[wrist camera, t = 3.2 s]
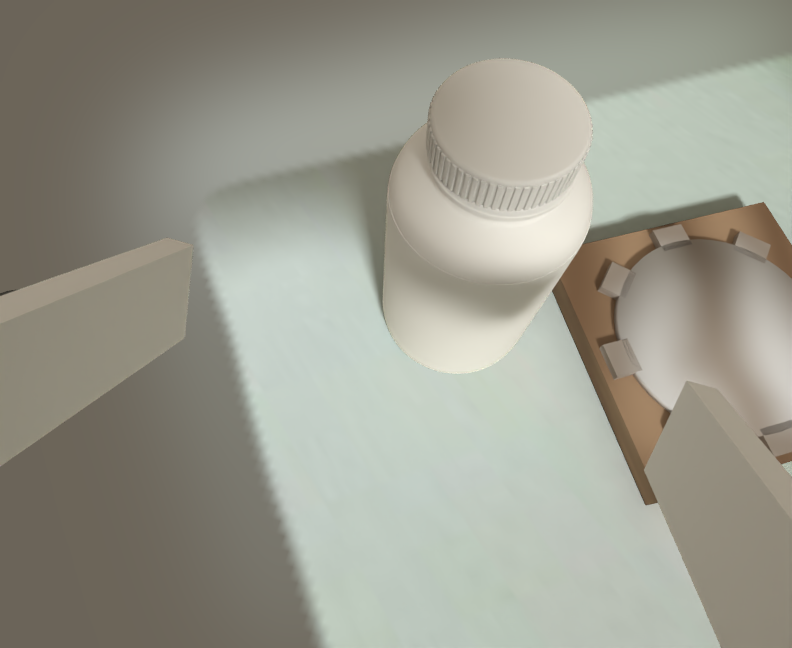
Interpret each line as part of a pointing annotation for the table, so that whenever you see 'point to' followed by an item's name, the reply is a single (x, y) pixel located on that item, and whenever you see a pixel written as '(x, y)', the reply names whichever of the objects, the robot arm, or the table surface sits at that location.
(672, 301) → the gear board
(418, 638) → the table surface
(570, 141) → the pill bottle
